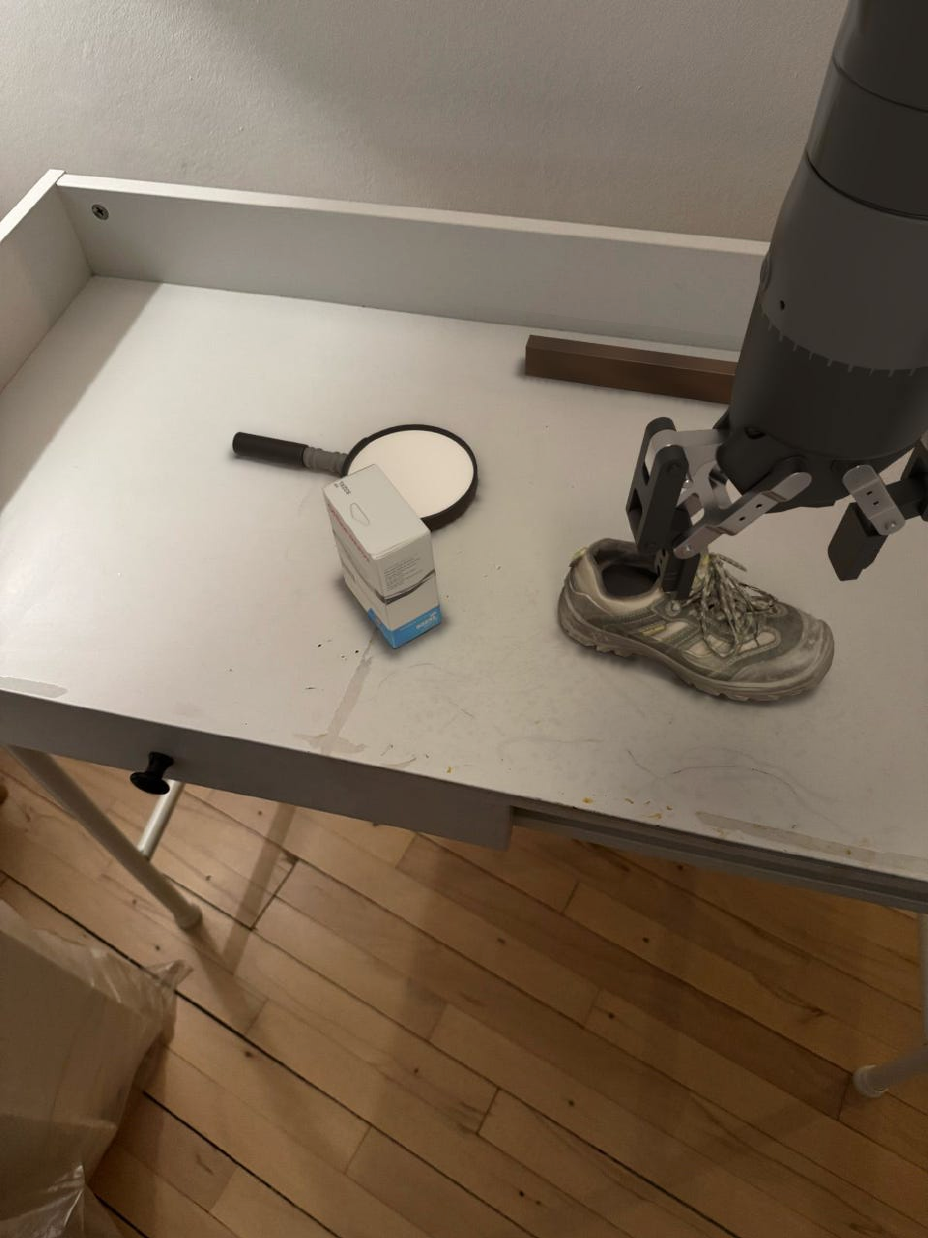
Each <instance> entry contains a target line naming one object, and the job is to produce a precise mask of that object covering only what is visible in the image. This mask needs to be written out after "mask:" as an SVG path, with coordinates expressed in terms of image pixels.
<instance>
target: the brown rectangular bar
mask: <svg viewBox="0 0 928 1238" xmlns="http://www.w3.org/2000/svg"><path fill="white" fill-rule="evenodd" d="M524 350H525V351H524V352H525V353H524V355H525V356H524V376H529V377H530V376H531V377H538V378H543V379H544V378H545V379H551V380H558V381H565V382H572V383H580V384H584V385H585V384H587V385H593V386H601V387H607V388H614V389H621V390H626V391H627V390H629V391H635V392H640V393H641V392H642V393H649V394H655V395H662V396H669V397H677V398H682V399H683V398H684V399H689V400H696V401H705V402H712V403H718V404H724V405H730V402H731V396H732V388H733V381H734V376H735V371H736V367H737V363H738V361H731V360H724V359H716V358H708V357H703V356H694V355H687V354H686V355H685V354H679V353H671V352H663V351H657V350H649V349H643V348H642V349H641V348H635V347H634V348H633V347H627V346H621V345H620V346H618V345H612V344H611V345H610V344H604V343H597V342H591V341H582V340H575V339H567V338H559V337H552V336H544V335H536V334H529V336H528V339H527V341H526V344H525V349H524Z"/></svg>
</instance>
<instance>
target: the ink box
mask: <svg viewBox="0 0 928 1238" xmlns="http://www.w3.org/2000/svg"><path fill="white" fill-rule="evenodd" d="M321 491H322V495H323V500H324V502H325V506H326V509H327V514H328V515H327V516H328V518H329V519H328V520H329V522H330V526H331V530H332V534H333V537H334V541H335V542H334V543H335V546H336V549H337V552H338V557H339V562H340V566H341V569H342V573H343V577H344V582H345V584H346V586H347V588H348V589H349V590H350V591H351V593H352V594H353V596H354V597H355V598H356V600H357V601H358V602H359V605H361V607H362V608H363V609H364V610H365V612H366V613H367V615H368V616H369V618H370V619H371V621H372V622H373V623H374V625H375V626H376V627H377V629H378V630H379V632H380V633H381V634H382V636H383V638H384V639H385V640H386V641H387V642H388V644H389V645H390V646H391V647H392V648H393V649H398V648H399V647H402V645H404V644H406V643H408V642H410V641H411V640H413V639H415V638H417V637H419V636H420V635H422V634H424V633H425V632H427V631H429V630H430V629H433V628H434V627H436V626H438V625H439V624H440V623H442V616H441V608H440V607H441V606H440V599H439V592H438V583H437V574H436V567H435V560H434V551H433V542H432V533H431V529H430V530H429V529H428V528H427V527H426V525H425V524H424V523H423V522H422V520H421V519H420V518H419V517H418V515H417V514H416V513H415V512H414V510H413V509H412V508H411V507H410V505H409V504H408V503H407V502H406V500H405V499H404V498H403V497H402V495H401V494H400V493H399V492H398V490H397V489H396V488H395V487H394V485H393V484H392V483H391V482H390V480H389V479H388V478H387V477H386V475H385V474H384V473H383V472H382V471H381V469H380V468H379V467H378V466H377V465H376V464H372V465H370V466H368V467H365V468H363V469H361V470H358V471H356V472H354V473H352V474H349V475H347V476H345V477H343V478H341V477H340V478H339V479H336V480H333V481H332V482H330V483H328V484H325V485H322V486H321Z"/></svg>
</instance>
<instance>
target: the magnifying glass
mask: <svg viewBox="0 0 928 1238" xmlns="http://www.w3.org/2000/svg"><path fill="white" fill-rule="evenodd" d="M231 448H232V451H233V452H234V454H235V455H239V456H244V457H250V458H253V459H260V460H265V461H268V462H269V461H270V462H275V463H278V464H286V465H289V466H295V467H300V468H306V467H307V468H314V469H316V470H319V469H323V470H328V471H331V472H333V473H339V474H340V478H343V477H345V476H347V475H349V474H352V473H354V472H356V471H358V470H361V469H363V468H365V467H368V466H370V465H372V464H376V465H377V466H378V467H379V468H380V469H381V471H382V472H383V473H384V474H385V475H386V477H387V478H388V479H389V480H390V482H391V483H392V484H393V485H394V487H395V488H396V489H397V490H398V492H399V493H400V494H401V495H402V497H403V498H404V499H405V500H406V502H407V503H408V504H409V505H410V507H411V508H412V509H413V510H414V512H415V513H416V514H417V515H418V517H419V518H420V519H421V520H422V522H423V523H424V524H425V525H426V527H427V528H428V529H429V530H430V531H431V530H433V529H436V528H439V527H442V526H443V525H445V524H448V523H450V522H451V521H453V520H454V519H456V518H457V517H458V516H459V515H461V514H462V513H464V511H465V510H466V509H467V508H468V507H469V505H470V504H471V503H472V501H473V499H474V497H475V494H476V491H477V488H478V483H479V477H478V476H479V475H478V474H479V473H478V463H477V459H476V456H475V454H474V451H473V449H471V446H469V444H468V443H467V442H466V441H465V440H463V438H461V437H460V436H459V435H457V434H456V433H454V432H452V431H450V430H448V429H445V428H442V427H439V426H435V425H430V424H423V423H409V424H399V425H394V426H390V427H387V428H384V429H381V430H379V431H377V432H375V433H372V434H370V435H369V436H366V437H363V438H362V439H360V440H359V441H358V442H357V443H356V444H355V445H354V446H353V447H352V448H351V449H350V451H349V452H348V453H347V452H340V451H338V450H337V451H328V450H324V449H323V448H322V447H321V448H320V447H317V448H316V447H315V446H310V445H309V444H306V443H301V442H296V441H291V440H285V439H280V438H275V437H269V436H264V435H259V434H254V433H249V432H243V431H237V432H236V433H235V434H234V435H233V438H232V441H231Z"/></svg>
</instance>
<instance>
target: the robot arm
mask: <svg viewBox="0 0 928 1238" xmlns="http://www.w3.org/2000/svg"><path fill="white" fill-rule="evenodd" d="M814 110H815V111H814V114H813V118H812V122H811V125H810V129H809V132H808V135H807V141H806V143H805V146H804V149H803V151H802V154H801V158H800V160H799V163H798V166H797V168H796V171H795V172H794V175H793V177H792V179H791V181H790V184H789V187H788V189H787V191H786V193H785V196H784V198H783V201H782V204H781V206H780V208H779V212H778V214H777V218H776V223H775V225H774V229H773V232H772V235H771V240H770V243H769V247H768V251H767V252H766V254H765V256H764V259H763V260H762V262H761V266H760V270H759V284H758V287H757V291H756V294H755V299H754V302H753V305H752V309H751V311H750V312H751V313H750V316H749V319H748V323H747V327H746V331H745V335H744V339H743V341H742V346H741V349H740V353H739V356H738V360H737V362H738V363H737V367H736V371H735V376H734V381H733V388H732V396H731V402H730V404H728V407H727V409H726V410H725V412H724V413H723V414H722V416H721V417H720V418H719V419H718V420H717V421H716V422H715V423H714V425H713V426H712V427H711V428H710V429H709V428H706V429H693V430H680V431H679V430H677V428H676V426H675V423H674V421H673V419H672V418H671V417H667V416H659V417H656V418H653V419H651V421H650V422H648V423H647V425H646V426H645V428H644V433H643V436H642V441H641V444H640V449H639V453H638V457H637V460H636V465H635V468H634V472H633V477H632V480H631V485H630V488H629V492H628V496H627V500H626V504H625V507H624V508H625V509H624V510H625V513H626V516H627V519H628V522H629V527H630V529H631V533H632V536H633V539H634V542H635V543H636V546H637V550H638V552H640V553H641V554H653V553H655V552H657V555H656V559H655V563H654V566H655V569H656V572H657V575H658V578H659V582H660V585H661V588H662V590H663V592H670V595H671V598H672V600H673V601H677V600H685V599H688V598H689V595H690V592H691V589H692V585H693V582H694V579H695V575H696V572H697V568H698V565H699V562H700V558H701V555H700V551H701V550H703V549H704V548H705V547H707V546H708V547H709V545H711V544H712V543H713V542H715V541H716V540H717V539H718V538H720V537H721V536H723V535H726V536H729V537H734V536H736V535H738V534H740V533H741V532H742V531H743V530H744V529H746V528H748V526H750V525H751V524H753V523H754V522H755V521H756V520H758V519H759V518H760V517H761V516H763V515H769V514H777V513H783V512H787V511H791V510H795V509H798V508H811V509H819V508H829V507H834V506H835V504H836V502H837V501H840V500H843V499H845V498H847V497H849V496H852V498H853V499H854V501H853V502H849V503H848V505H847V507H846V509H845V511H844V513H843V515H842V517H841V520H839V521H840V522H839V523H838V525H837V528H836V529H835V532H834V533H833V536H832V537H831V540H830V541H829V544H828V546H827V557H828V560H829V562H830V564H831V566H832V568H833V570H834V572H835V575H836V577H837V579H838V580H839V581H840V582H847V581H855V580H858V579H859V577H860V576H861V574H862V572H863V570H866V569H868V567H870V566H871V565H872V564H873V563H874V562H875V560H876V558H877V556H878V554H879V553H880V551H881V549H882V548H883V546H884V544H885V543H886V541H887V539H888V537H889V536H890V535H893V534H895V533H897V532H899V531H900V530H902V529H903V528H904V527H905V525H906V523H907V522H906V521H908V520H911V519H914V518H917V517H920V518H921V520H922V521H923V522H927V523H928V0H848V1H847V3H846V7H845V10H844V12H843V15H842V19H841V22H840V24H839V27H838V31H837V33H836V36H835V39H834V44H833V46H832V50H831V53H830V57H829V60H828V63H827V68H826V71H825V75H824V79H823V82H822V85H821V89H820V92H819V96H818V100H817V104H816V107H815V109H814ZM909 452H911V453H910V456H909V457H908V460H907V462H906V464H905V467H904V469H903V471H902V473H901V475H900V478H899V480H897V481H894V482H891V483H888V484H886V483H885V481H884V480H883V478H882V476H881V475H880V473H882V472H883V471H885V470H887V469H888V468H889V467H891V466H892V465H893V464H894V463H896V462H897V461H899V460H900V459H901V458H902V457H904V456H905V455H906V454H908V453H909ZM728 481H729V482H730V483H731V484H732V486H733V487H734V488H735V490H737V492H738V493H739V495H741V496H740V497H739V498H737V500H735V501H734V502H733V503H732V500H731V497H730V495H729V493H728V490H727V483H728ZM683 489H685V490H684V491H682V490H683ZM701 510H703V514H702V517H701V518H700V519H699V520H698V521H696V522H695V523H693V520H692V518H693V517H694V516H695V515H696V514H697V513H699V512H701Z"/></svg>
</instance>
